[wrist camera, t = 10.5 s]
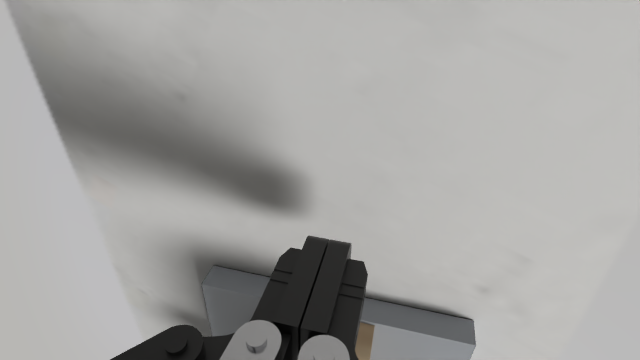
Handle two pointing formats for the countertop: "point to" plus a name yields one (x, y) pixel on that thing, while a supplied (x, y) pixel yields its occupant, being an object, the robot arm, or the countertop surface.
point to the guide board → (389, 319)
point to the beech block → (364, 341)
